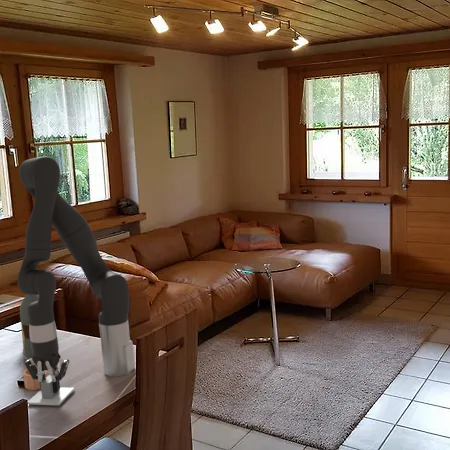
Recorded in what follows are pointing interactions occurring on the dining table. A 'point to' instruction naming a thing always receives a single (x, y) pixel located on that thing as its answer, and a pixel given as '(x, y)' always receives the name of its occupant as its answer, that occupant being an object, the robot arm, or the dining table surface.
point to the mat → (50, 405)
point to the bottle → (27, 322)
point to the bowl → (31, 380)
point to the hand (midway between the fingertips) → (50, 391)
